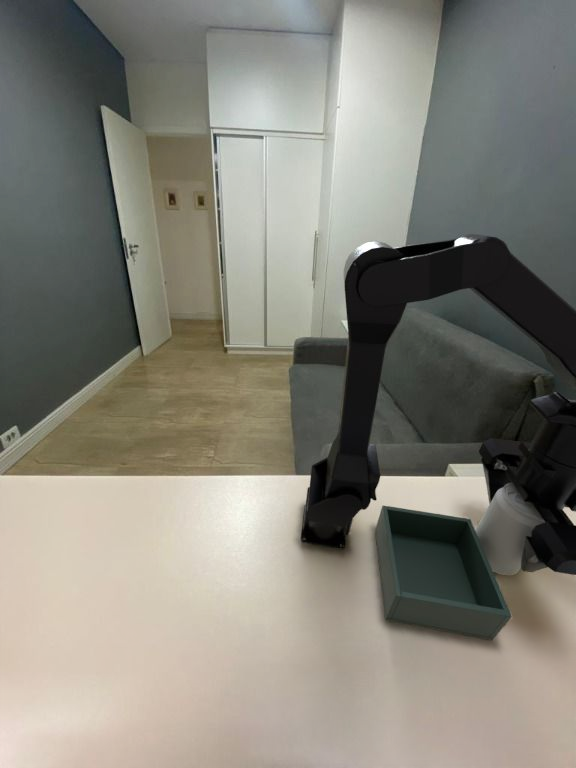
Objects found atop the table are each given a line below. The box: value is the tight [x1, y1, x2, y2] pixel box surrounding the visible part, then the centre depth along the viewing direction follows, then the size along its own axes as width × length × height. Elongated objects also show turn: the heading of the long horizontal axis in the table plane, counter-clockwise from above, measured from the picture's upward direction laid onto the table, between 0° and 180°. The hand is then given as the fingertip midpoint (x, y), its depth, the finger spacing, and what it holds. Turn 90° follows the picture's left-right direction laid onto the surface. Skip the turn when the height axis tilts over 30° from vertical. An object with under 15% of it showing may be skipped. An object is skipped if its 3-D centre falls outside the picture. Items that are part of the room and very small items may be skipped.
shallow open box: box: [374, 505, 513, 641], centre depth 40 cm, size 12×12×6 cm
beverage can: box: [474, 483, 545, 576], centre depth 42 cm, size 6×6×12 cm
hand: (508, 537), depth 43 cm, fingers open, 9 cm apart
